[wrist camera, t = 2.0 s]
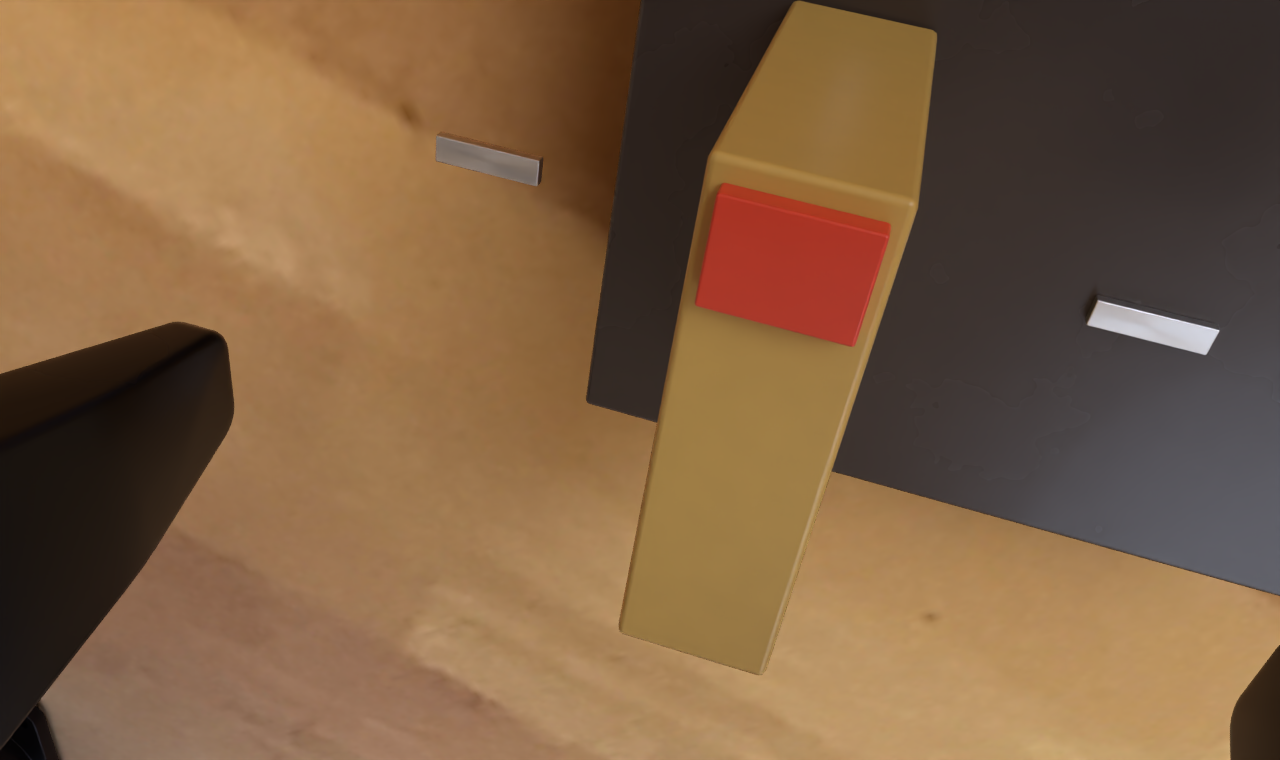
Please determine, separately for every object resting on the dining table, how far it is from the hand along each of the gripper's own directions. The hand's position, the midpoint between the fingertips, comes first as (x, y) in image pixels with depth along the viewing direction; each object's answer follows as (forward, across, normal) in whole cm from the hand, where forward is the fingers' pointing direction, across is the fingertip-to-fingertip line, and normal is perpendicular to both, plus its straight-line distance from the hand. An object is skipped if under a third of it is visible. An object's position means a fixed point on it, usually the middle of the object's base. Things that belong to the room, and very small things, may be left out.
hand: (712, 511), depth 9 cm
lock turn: (+5, 0, 0) cm, 5 cm away
